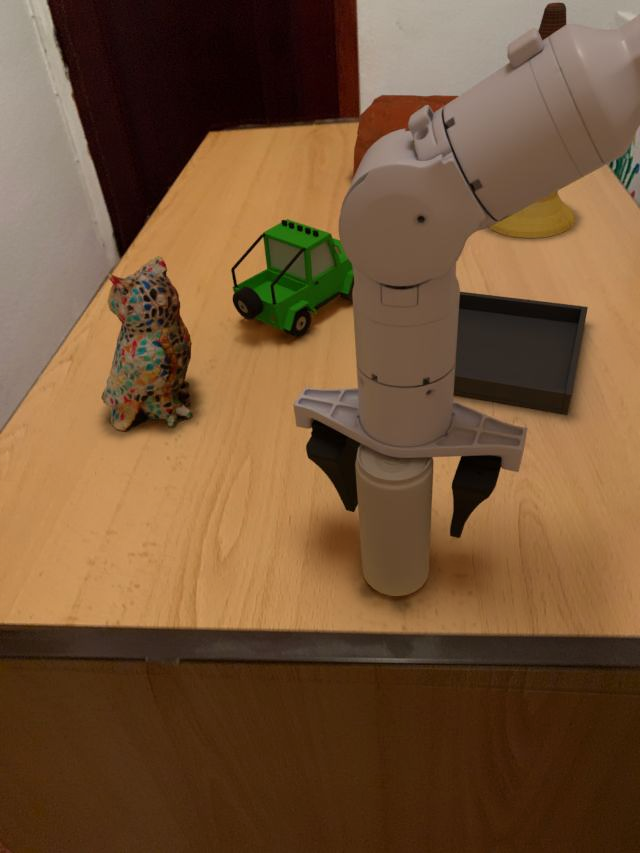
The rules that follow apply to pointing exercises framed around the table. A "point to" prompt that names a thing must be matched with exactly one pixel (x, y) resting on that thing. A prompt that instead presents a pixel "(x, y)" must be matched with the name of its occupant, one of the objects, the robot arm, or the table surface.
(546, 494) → the table surface
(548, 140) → the robot arm
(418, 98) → the bread
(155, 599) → the table surface
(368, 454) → the beverage can
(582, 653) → the table surface
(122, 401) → the figurine
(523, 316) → the tray
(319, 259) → the toy car
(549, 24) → the handbell
